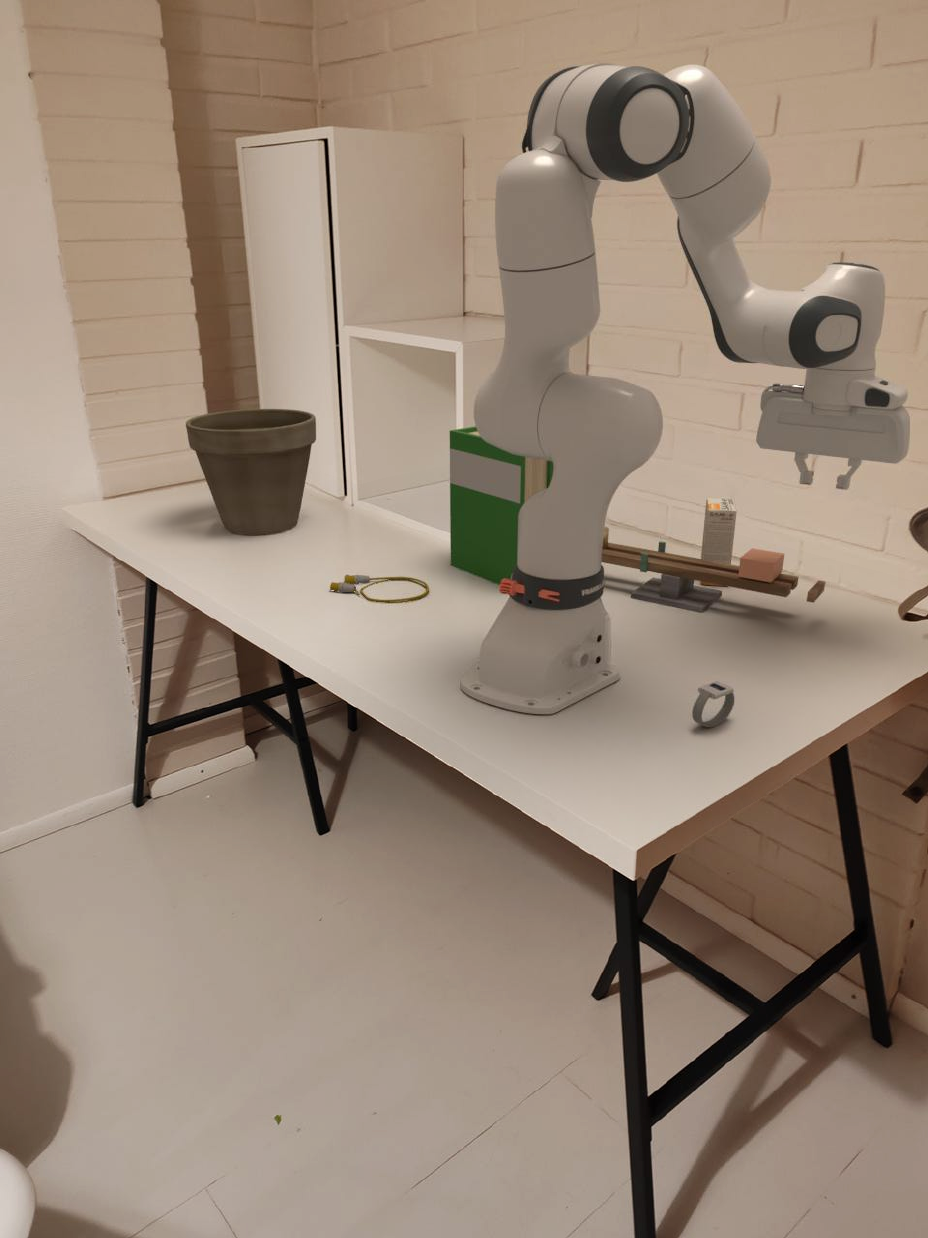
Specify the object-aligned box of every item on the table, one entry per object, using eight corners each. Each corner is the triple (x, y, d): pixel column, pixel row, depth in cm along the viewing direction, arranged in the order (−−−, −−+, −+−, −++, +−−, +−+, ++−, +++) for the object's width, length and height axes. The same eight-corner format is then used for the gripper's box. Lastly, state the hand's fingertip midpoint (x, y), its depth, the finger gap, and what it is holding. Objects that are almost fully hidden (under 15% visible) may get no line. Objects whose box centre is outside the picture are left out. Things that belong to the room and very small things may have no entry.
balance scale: (806, 634, 141) (814, 576, 138) (544, 579, 164) (545, 528, 160) (822, 615, 148) (830, 559, 145) (568, 565, 171) (570, 516, 167)
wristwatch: (703, 736, 113) (707, 698, 111) (685, 727, 115) (689, 690, 113) (737, 722, 116) (742, 684, 114) (719, 713, 118) (723, 676, 117)
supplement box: (729, 587, 160) (737, 511, 155) (700, 585, 161) (707, 509, 156) (727, 571, 168) (735, 498, 163) (698, 569, 169) (705, 496, 164)
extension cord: (372, 573, 169) (372, 562, 168) (443, 591, 160) (443, 580, 159) (323, 592, 159) (323, 581, 159) (395, 613, 151) (395, 601, 150)
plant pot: (187, 516, 200) (175, 411, 192) (302, 503, 210) (295, 403, 202) (211, 550, 179) (198, 434, 171) (337, 533, 189) (331, 423, 181)
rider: (769, 592, 144) (773, 563, 143) (737, 586, 147) (740, 557, 145) (780, 582, 149) (784, 553, 147) (748, 576, 151) (752, 548, 149)
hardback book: (550, 582, 163) (555, 440, 154) (518, 592, 158) (521, 447, 149) (482, 557, 175) (482, 425, 166) (450, 565, 171) (449, 430, 162)
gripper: (756, 384, 135) (745, 481, 141) (911, 397, 125) (894, 500, 130) (769, 379, 140) (758, 472, 145) (920, 391, 130) (903, 491, 135)
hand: (823, 486), depth 138 cm, fingers open, 4 cm apart
